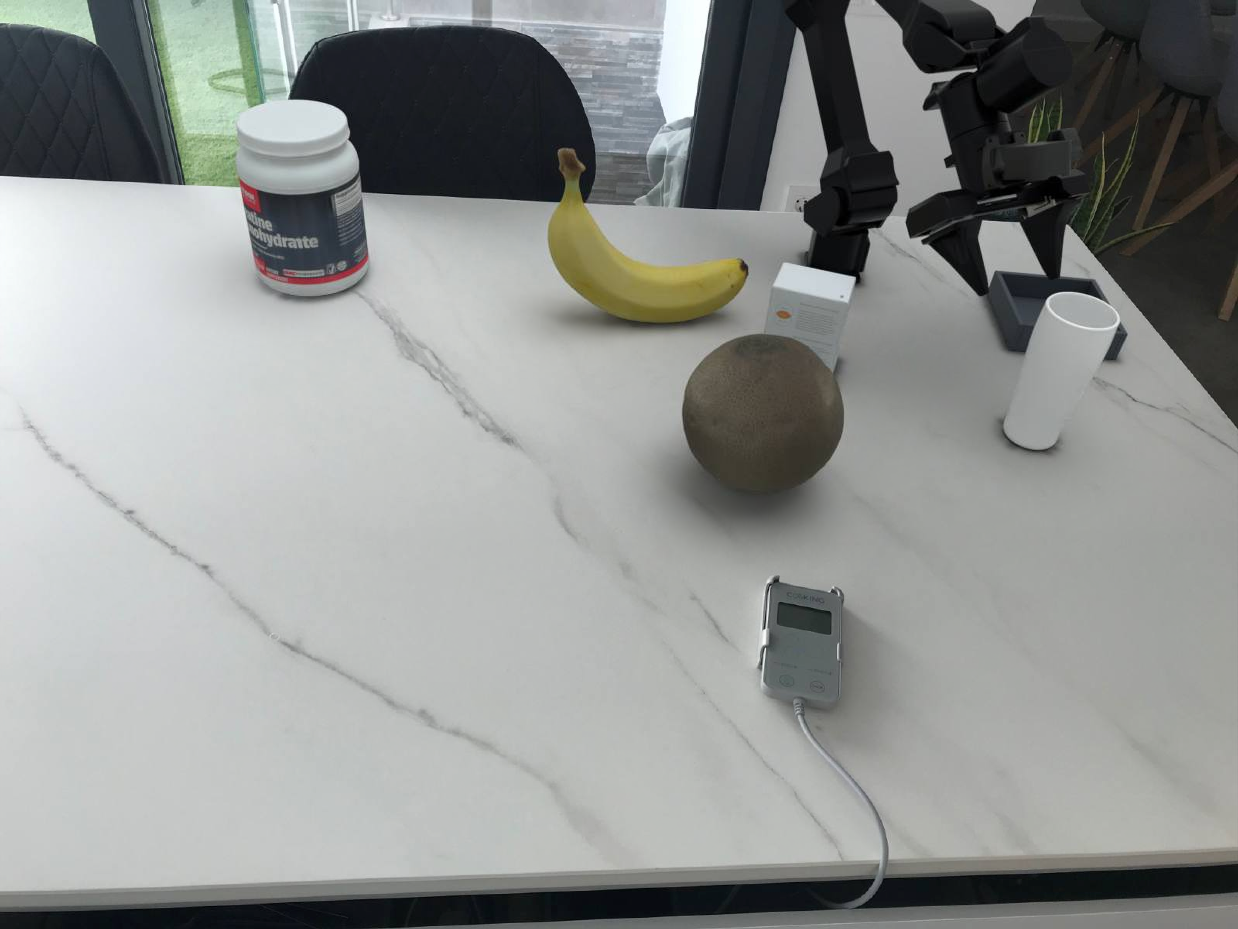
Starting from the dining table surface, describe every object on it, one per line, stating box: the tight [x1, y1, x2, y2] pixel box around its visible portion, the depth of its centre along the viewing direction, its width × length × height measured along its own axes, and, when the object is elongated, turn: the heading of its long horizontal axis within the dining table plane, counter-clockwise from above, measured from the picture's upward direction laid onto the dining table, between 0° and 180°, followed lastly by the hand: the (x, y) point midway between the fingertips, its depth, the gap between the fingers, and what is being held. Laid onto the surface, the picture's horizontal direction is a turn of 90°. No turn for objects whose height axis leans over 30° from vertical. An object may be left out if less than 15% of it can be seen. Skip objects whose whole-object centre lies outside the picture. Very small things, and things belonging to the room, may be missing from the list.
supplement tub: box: [235, 99, 370, 297], centre depth 109 cm, size 13×13×18 cm
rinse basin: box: [985, 270, 1129, 361], centre depth 115 cm, size 12×12×4 cm
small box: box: [763, 261, 856, 374], centre depth 103 cm, size 8×6×10 cm
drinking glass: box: [1002, 292, 1121, 451], centre depth 95 cm, size 7×7×15 cm
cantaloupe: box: [681, 333, 845, 494], centre depth 87 cm, size 14×14×15 cm
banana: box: [547, 147, 750, 324], centre depth 106 cm, size 23×6×20 cm, turn 97°
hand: (1020, 287), depth 96 cm, fingers open, 9 cm apart
